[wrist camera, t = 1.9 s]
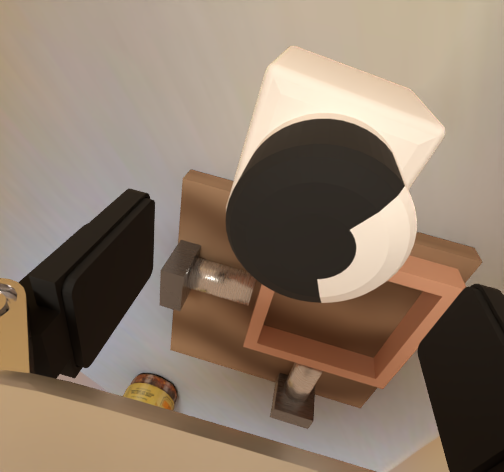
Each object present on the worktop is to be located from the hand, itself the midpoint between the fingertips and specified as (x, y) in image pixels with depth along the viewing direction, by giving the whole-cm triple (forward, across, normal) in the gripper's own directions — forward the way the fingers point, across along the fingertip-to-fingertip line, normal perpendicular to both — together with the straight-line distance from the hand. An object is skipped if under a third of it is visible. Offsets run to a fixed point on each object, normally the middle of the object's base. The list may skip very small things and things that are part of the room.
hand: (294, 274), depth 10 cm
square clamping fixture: (+13, -3, +14) cm, 19 cm away
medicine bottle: (+13, 0, -1) cm, 13 cm away
